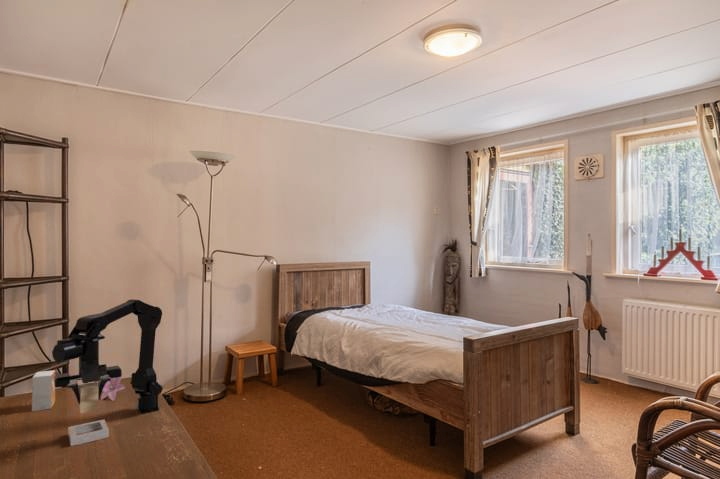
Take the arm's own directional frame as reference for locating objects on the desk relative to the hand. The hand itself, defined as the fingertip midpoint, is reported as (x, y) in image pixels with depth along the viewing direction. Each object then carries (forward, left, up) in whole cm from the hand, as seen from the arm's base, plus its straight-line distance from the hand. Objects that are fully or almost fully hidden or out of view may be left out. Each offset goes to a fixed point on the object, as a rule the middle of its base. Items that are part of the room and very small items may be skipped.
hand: (88, 401), depth 146 cm
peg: (0, 0, -2) cm, 2 cm away
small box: (+11, -41, -12) cm, 44 cm away
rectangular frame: (0, 0, -11) cm, 11 cm away
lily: (-12, -37, -12) cm, 41 cm away
